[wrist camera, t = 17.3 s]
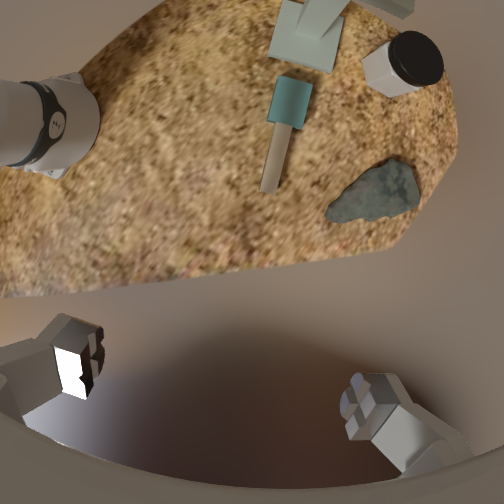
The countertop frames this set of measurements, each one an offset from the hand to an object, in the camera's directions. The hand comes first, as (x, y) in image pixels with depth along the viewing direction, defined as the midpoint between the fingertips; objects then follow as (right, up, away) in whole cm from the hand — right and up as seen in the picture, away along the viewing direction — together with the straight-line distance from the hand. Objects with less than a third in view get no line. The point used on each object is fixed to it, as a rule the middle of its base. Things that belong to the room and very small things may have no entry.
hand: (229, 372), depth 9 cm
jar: (+22, +33, +31) cm, 50 cm away
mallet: (+5, +21, +34) cm, 41 cm away
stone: (+20, +13, +38) cm, 45 cm away
